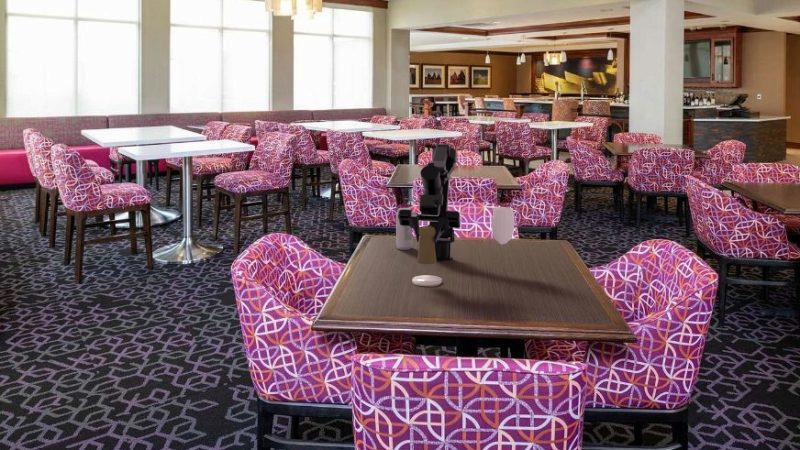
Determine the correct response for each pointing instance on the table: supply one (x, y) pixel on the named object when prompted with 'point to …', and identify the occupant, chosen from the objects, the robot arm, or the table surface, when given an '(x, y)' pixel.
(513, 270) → the table surface
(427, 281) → the coaster
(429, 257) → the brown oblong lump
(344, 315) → the table surface
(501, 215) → the cup
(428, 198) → the robot arm
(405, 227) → the energy drink can
